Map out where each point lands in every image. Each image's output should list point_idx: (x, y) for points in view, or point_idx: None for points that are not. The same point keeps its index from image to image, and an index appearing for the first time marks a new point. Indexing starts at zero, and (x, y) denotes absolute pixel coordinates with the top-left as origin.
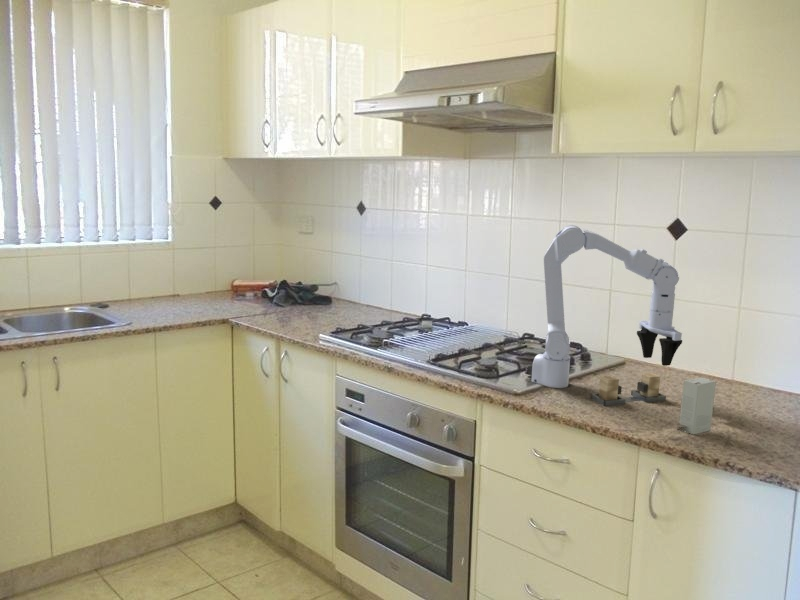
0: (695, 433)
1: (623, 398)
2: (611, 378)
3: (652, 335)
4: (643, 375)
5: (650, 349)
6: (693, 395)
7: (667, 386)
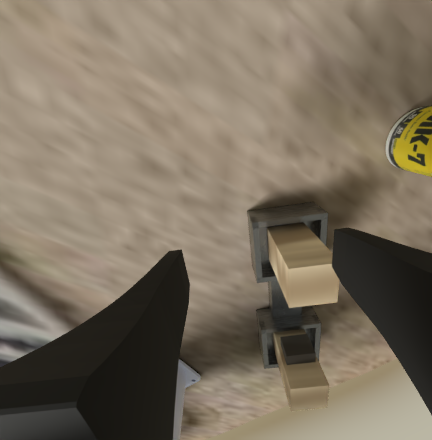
0: None
1: (313, 324)
2: (313, 396)
3: (137, 397)
4: (299, 303)
5: (173, 289)
6: None
7: (114, 70)
